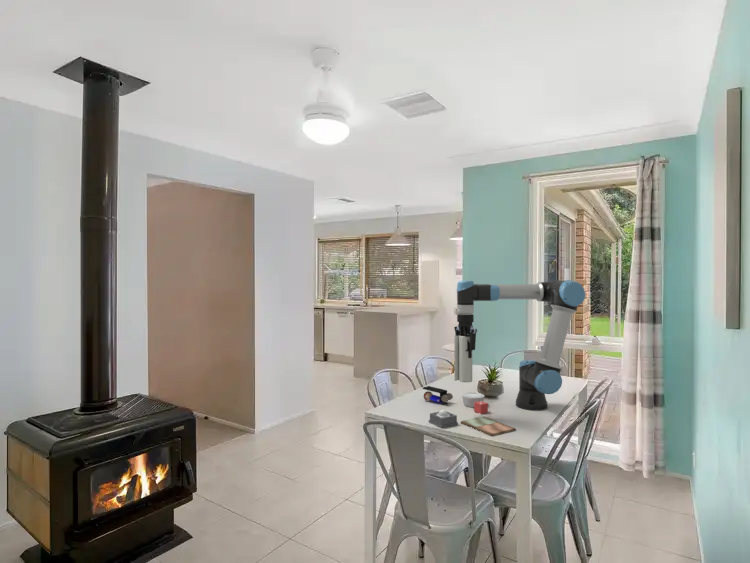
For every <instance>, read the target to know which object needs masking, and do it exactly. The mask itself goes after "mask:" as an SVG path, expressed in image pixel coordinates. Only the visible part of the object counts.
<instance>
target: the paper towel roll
mask: <svg viewBox="0 0 750 563" xmlns="http://www.w3.org/2000/svg"><path fill="white" fill-rule="evenodd" d="M467 339H468V341H469V343H470V337H465V336H463V335H462V336H460V335H459V336H455V335H454V381H459V382H461V383H472V382H473V357H472V358H468V351H466V350H467Z"/></svg>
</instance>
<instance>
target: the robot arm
mask: <svg viewBox="0 0 750 563" xmlns="http://www.w3.org/2000/svg"><path fill="white" fill-rule="evenodd" d="M456 287H457V288H456V298H457V299H456V300H457V301H456V302H457V305H456V309H457V310H456V311H457V315H456V321H457V323H458V325H457V326H454V327H453V328H454V333H455V335H454V337H455V336H459V335H460V336H462V335H463V336H465V337H470V343H469V341H468V339H467V350H466V351H468V358H472V359H473V351H475V350H476V341H477V339H476V338H477V332H478V329H477V328H474V327H473V323H474V318H475V316H474V312H475V311H474V304H475V303H474V302H486V301H487V302H488V301H489V302H495V301H498V300H536V301H538V302H546V303H550V307H551V309H552V311H551V314H550V319H549V323H548V326H547V331H546V334H545V338H544V342H543V345H542V350H541V353H540V357H539V358H537V359H525V360H520V362H519V364H518V365H519V367H518V370H519V379H518V381H519V383H518V384H519V389H518V393H517V396H516V399H515V406H516V407H518V408H519V409H523V410H529V411H543V410H547V409H548V408H549V406H548V401H547V398H546V395H552V394H555V393H558V391H559V390H560V389H561V387H562V384H563V378H562V375H561V371H562V367H561V365H560V361H561V357H562V353H563V349H564V346H565V342H566V338H567V334H568V330H569V328H570V327H569V326H570V323H571V321H572V320H571V319H572V315H573V314H575V313H577V311H578V310H577V309H578V308H579V306H580V305H581V304H583V302H584V301H585V299H586V291H585V288H584V287H583V285H582V284H581V283H580V282H578V281H576V280H570V279H567V280H560V279H559V280H558V279H557V280H551V281H542V282H541V281H538V282H537V283H534V284H533V283H532V284H531V283H530V284H529V283H525V284H523V283H516V284H515V283H510V284H509V283H506V284H505V283H504V284H503V283H501V284H499V283H498V284H497V283H492V284H490V283H487V284H486V283H485V284H483V283H474V281H473V280H458V281H457V286H456Z"/></svg>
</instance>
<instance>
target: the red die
mask: <svg viewBox="0 0 750 563" xmlns="http://www.w3.org/2000/svg"><path fill="white" fill-rule="evenodd" d="M488 405H489V402H485V401H484V402H482V401H479V402H474V408H473V411H475V412H474V413H476V412H477V414H479V413H480V414H479V415H484V414H488V413H489V406H488ZM483 413H484V414H483Z"/></svg>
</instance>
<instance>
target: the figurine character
mask: <svg viewBox="0 0 750 563" xmlns="http://www.w3.org/2000/svg"><path fill="white" fill-rule="evenodd" d="M422 389H423V390H425V392H424V394H423V399H424V401H426V402H431V401H432V402H436V403H439V404H440V405H444V406H446V405H448V404H449V403H448V401H451V400H452V399H453V398H454V396H453V394H452V393H451V392H448V390H447V389H442V388H439V387H434V386H430V385H427V386H423V387H422ZM433 392H434V393H438V394H439V395H436V394H433Z"/></svg>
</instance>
